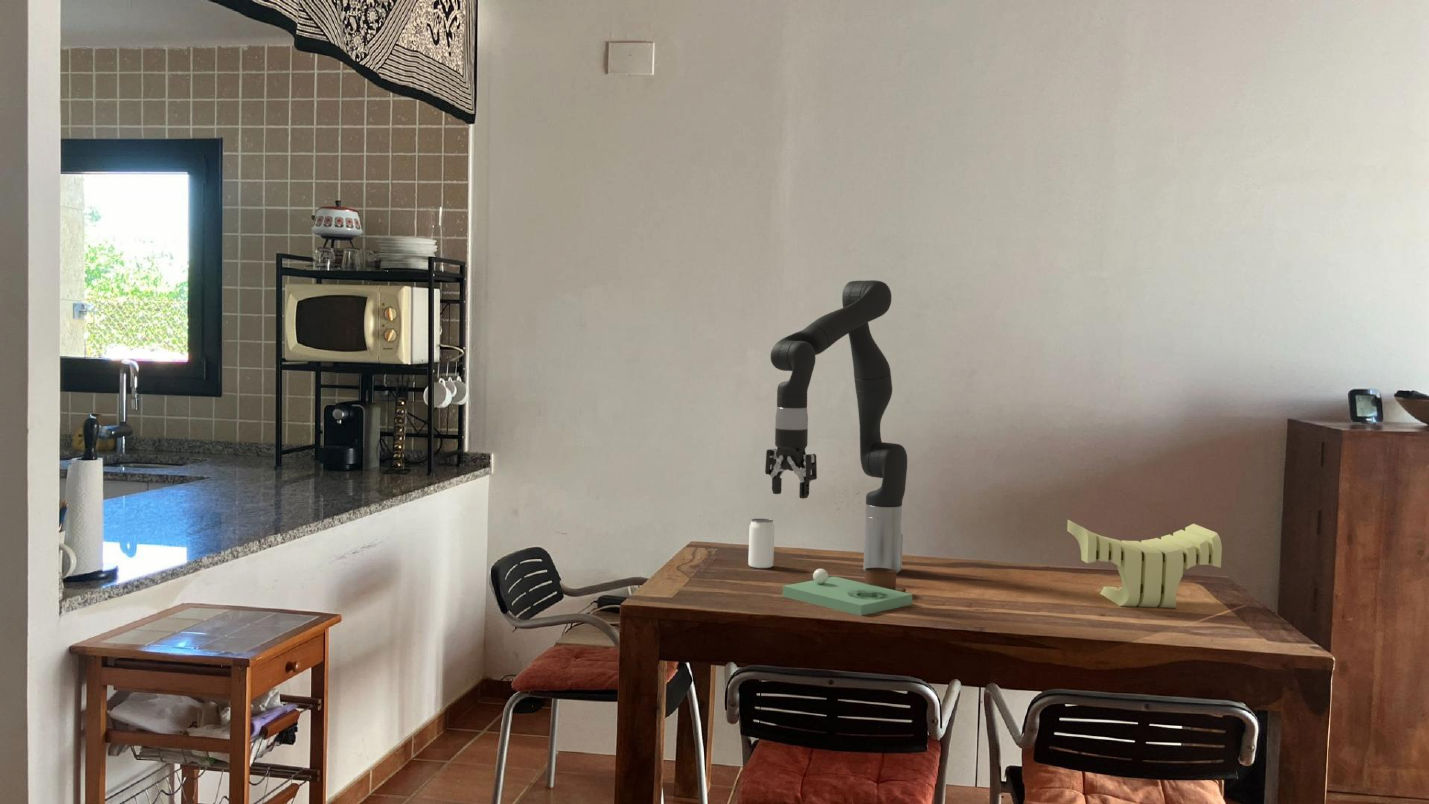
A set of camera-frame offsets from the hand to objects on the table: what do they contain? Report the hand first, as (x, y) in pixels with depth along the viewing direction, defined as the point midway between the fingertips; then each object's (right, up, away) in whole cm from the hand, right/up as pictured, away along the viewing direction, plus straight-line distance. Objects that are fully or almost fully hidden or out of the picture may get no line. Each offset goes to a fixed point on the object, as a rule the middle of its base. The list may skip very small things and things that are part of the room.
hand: (790, 495), depth 260 cm
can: (-6, -21, +29) cm, 36 cm away
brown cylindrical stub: (+21, -24, +1) cm, 32 cm away
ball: (+7, -18, -2) cm, 20 cm away
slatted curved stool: (+81, -25, 0) cm, 85 cm away
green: (+12, -23, -8) cm, 27 cm away
